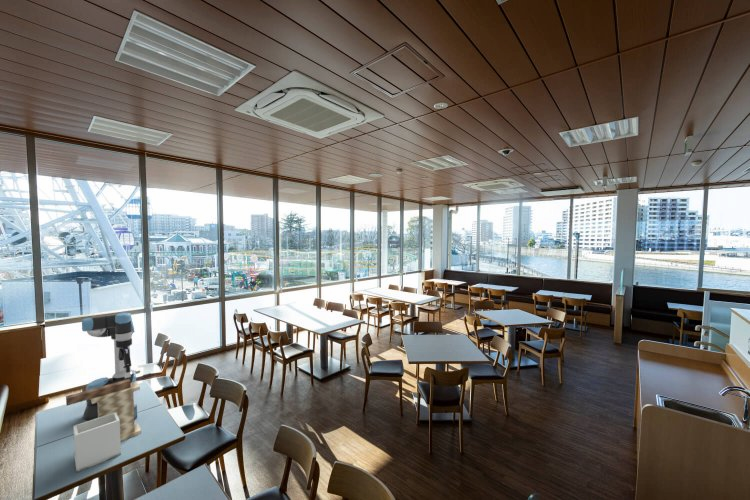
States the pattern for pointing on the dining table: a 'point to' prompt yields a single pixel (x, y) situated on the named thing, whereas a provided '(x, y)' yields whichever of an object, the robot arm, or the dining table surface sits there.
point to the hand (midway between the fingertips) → (125, 373)
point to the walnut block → (97, 392)
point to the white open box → (96, 441)
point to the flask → (135, 411)
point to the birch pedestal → (120, 409)
